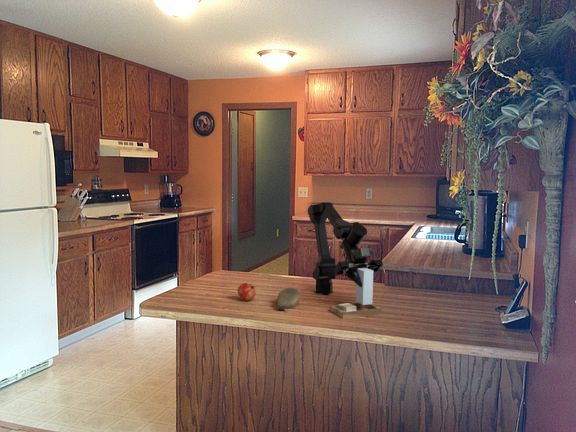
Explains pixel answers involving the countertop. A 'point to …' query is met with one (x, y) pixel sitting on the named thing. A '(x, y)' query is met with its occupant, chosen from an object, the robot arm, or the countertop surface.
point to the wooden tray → (357, 311)
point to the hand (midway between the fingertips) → (366, 286)
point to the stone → (288, 299)
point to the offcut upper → (347, 307)
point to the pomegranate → (246, 292)
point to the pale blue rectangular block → (365, 286)
